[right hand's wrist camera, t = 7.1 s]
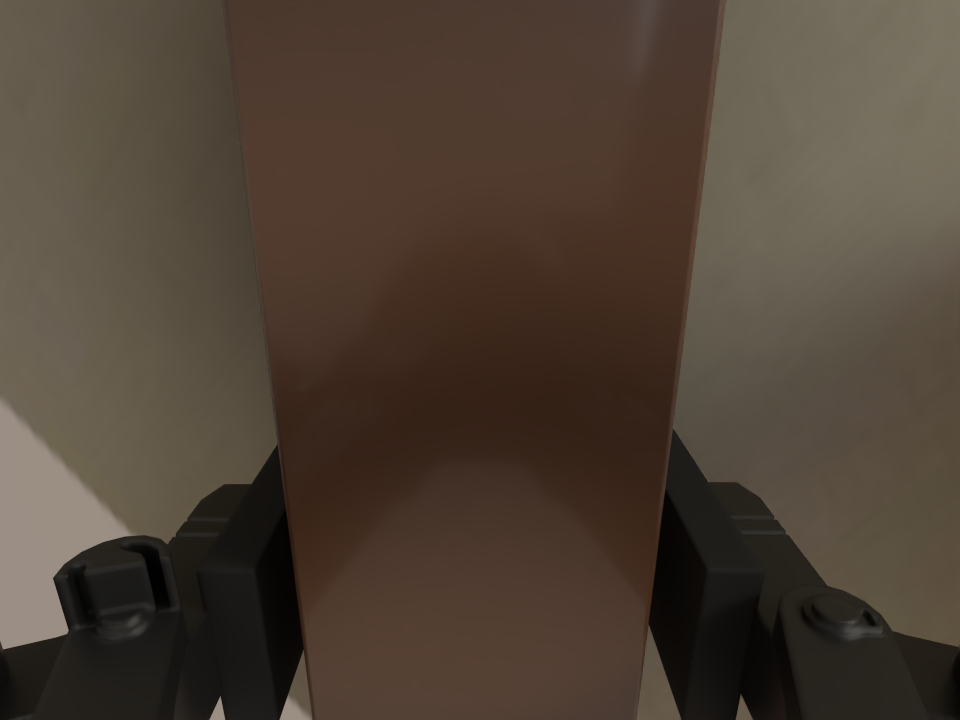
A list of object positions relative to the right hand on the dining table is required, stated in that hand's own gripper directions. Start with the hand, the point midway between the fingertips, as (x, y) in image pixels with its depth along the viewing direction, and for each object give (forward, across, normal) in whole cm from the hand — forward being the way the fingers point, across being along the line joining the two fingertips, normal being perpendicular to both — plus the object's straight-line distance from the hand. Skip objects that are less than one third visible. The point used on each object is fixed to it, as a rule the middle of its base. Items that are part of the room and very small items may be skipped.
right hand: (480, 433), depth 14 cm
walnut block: (0, 0, +10) cm, 10 cm away
